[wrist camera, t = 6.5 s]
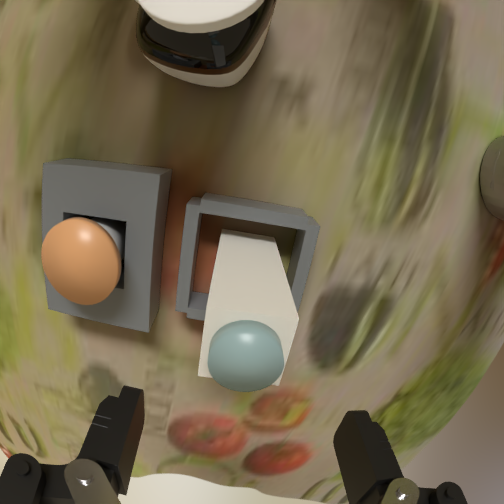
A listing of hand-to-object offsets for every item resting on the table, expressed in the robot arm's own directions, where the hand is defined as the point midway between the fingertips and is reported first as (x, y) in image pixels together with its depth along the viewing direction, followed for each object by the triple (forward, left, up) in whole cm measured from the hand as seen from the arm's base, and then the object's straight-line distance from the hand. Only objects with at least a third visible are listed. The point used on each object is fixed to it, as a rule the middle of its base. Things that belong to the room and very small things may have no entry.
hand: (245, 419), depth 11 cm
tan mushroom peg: (+12, 0, -17) cm, 21 cm away
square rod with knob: (0, 0, -18) cm, 18 cm away
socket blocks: (+6, 0, -18) cm, 19 cm away
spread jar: (+7, -19, -18) cm, 27 cm away
